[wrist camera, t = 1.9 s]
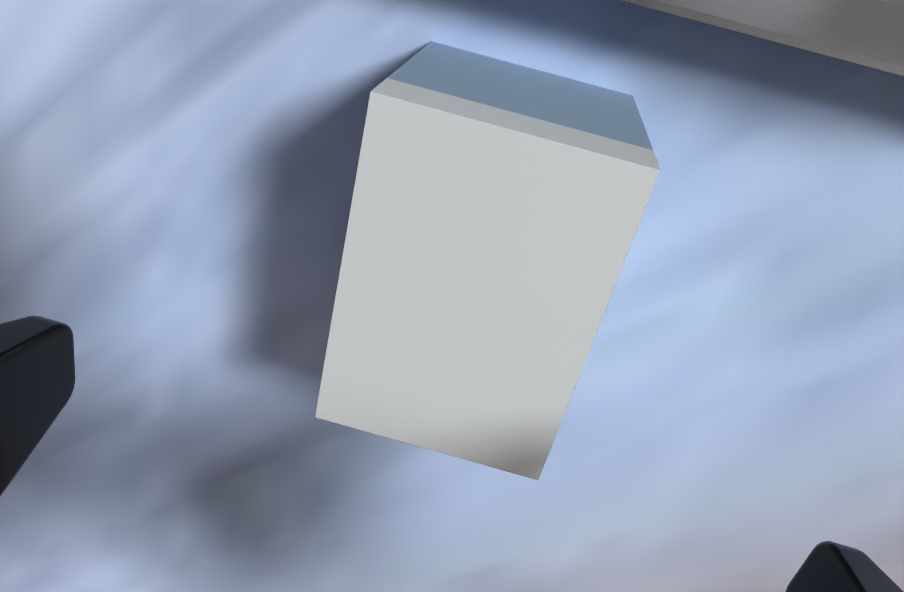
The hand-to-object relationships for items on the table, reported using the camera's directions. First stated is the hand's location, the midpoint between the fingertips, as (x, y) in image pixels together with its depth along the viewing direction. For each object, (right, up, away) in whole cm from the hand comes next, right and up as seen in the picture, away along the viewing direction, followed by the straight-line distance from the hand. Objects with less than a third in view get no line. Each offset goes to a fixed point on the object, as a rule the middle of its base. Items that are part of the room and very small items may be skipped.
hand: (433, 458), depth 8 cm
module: (+1, +4, +7) cm, 9 cm away
